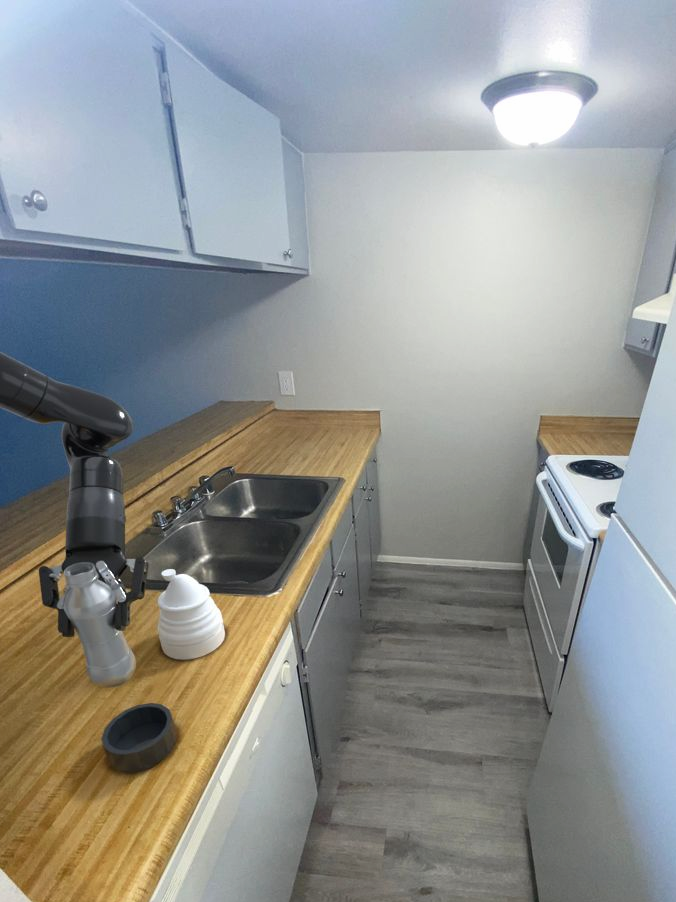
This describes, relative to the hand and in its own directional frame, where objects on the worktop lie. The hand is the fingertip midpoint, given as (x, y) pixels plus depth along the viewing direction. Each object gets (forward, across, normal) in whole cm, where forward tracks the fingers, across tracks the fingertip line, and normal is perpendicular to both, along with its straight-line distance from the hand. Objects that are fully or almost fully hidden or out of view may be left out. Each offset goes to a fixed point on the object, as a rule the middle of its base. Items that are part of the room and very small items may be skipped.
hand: (94, 632), depth 67 cm
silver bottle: (+6, 0, +9) cm, 11 cm away
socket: (+17, +1, +18) cm, 25 cm away
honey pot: (-2, +6, +37) cm, 38 cm away
